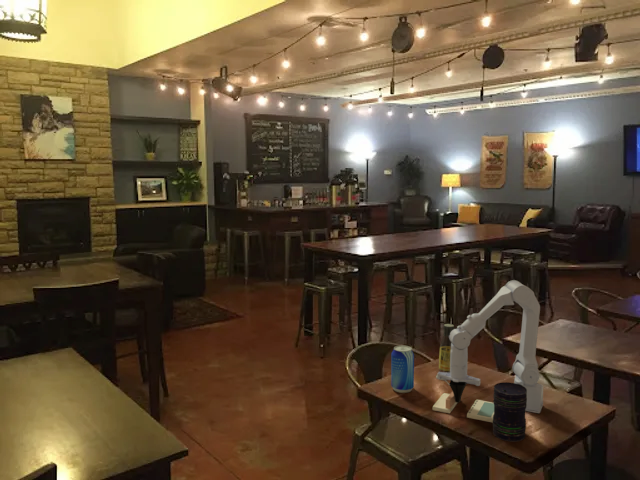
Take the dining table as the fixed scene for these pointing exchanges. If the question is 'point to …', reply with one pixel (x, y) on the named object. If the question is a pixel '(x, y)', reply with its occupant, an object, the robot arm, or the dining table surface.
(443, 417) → the dining table surface
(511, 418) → the storage jar
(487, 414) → the cream teal notepad
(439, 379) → the dial probe thermometer
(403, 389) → the beer can
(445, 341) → the sauce bottle
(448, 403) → the cream and brown block
